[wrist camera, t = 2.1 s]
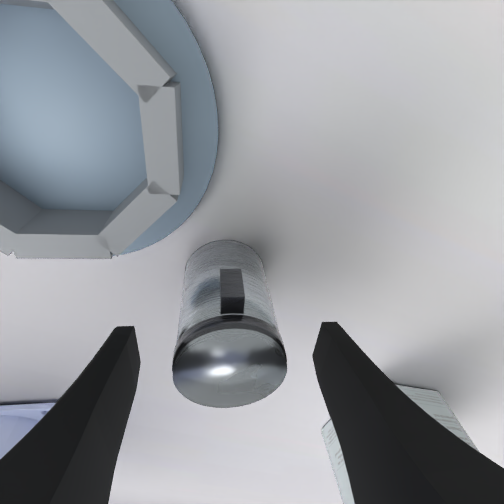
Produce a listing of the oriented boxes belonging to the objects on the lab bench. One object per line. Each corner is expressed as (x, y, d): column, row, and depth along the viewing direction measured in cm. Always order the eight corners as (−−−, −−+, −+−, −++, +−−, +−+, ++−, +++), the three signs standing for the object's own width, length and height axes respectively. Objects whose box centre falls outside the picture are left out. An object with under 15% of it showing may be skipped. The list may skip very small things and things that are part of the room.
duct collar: (-38, 246, 13) (-91, 287, 11) (-229, -135, 7) (-428, -221, 5) (215, 249, 15) (216, 285, 13) (221, -67, 9) (225, -110, 7)
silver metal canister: (185, 303, 17) (174, 411, 12) (181, 225, 14) (165, 320, 9) (260, 302, 17) (280, 405, 12) (269, 227, 15) (300, 317, 10)
